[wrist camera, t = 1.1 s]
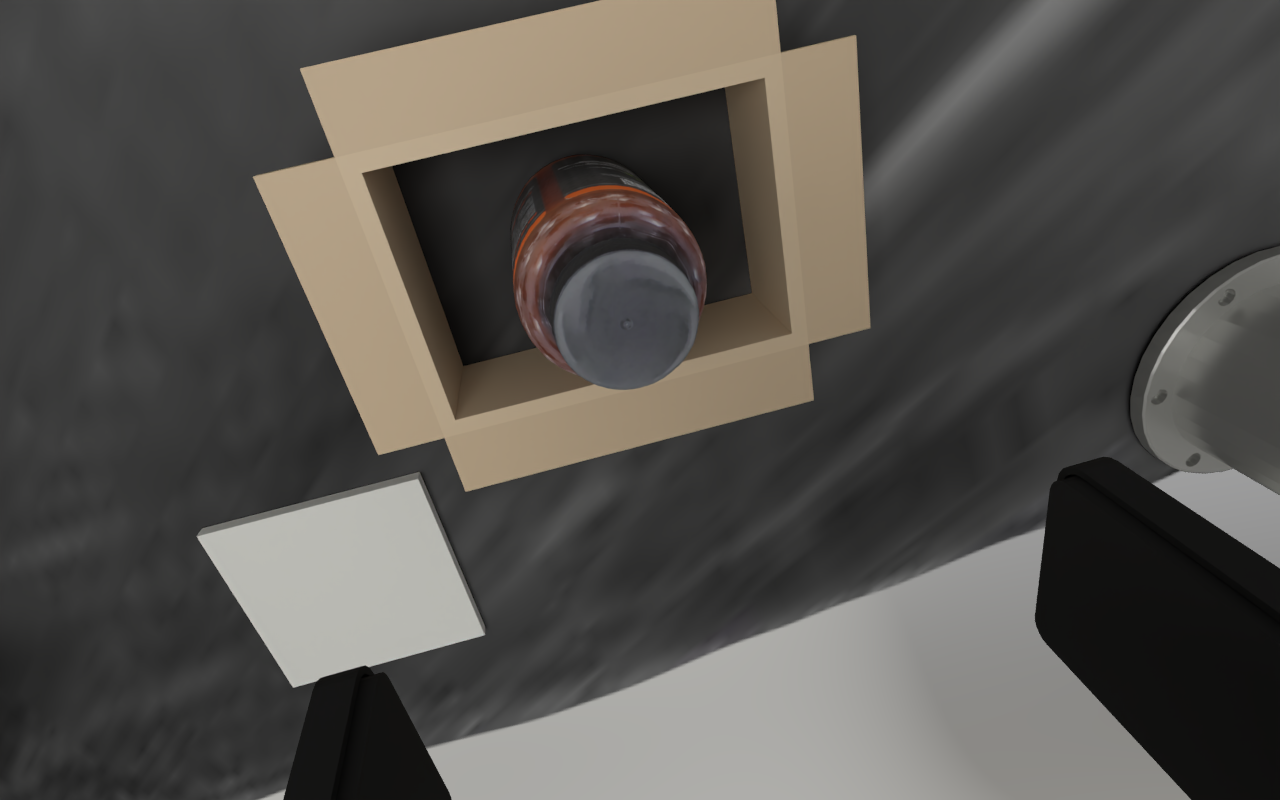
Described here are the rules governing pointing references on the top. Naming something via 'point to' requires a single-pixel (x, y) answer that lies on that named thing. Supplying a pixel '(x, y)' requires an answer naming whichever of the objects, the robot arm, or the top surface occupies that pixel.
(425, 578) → the mat
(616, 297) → the supplement bottle
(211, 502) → the top surface
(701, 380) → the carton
